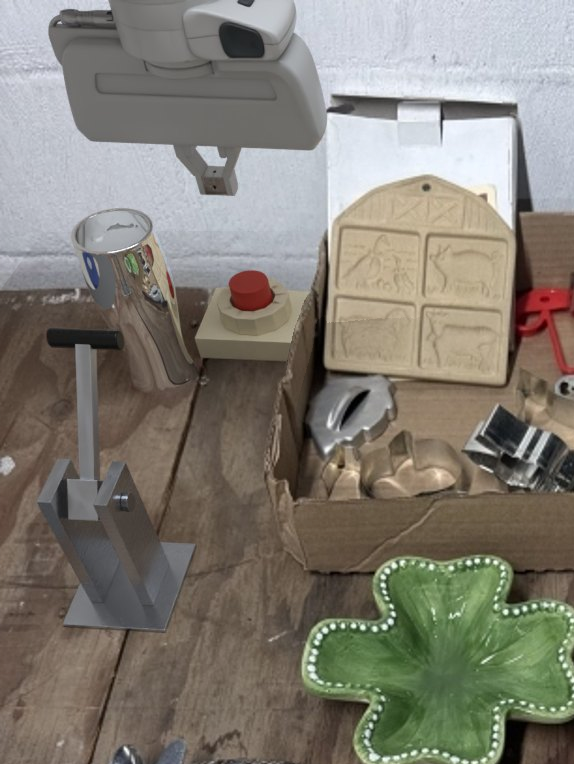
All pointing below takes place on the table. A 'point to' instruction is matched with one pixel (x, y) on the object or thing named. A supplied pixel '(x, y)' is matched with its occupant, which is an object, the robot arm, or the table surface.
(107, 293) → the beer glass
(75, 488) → the lever
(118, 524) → the bracket
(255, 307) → the button
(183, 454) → the table surface
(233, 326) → the button box
